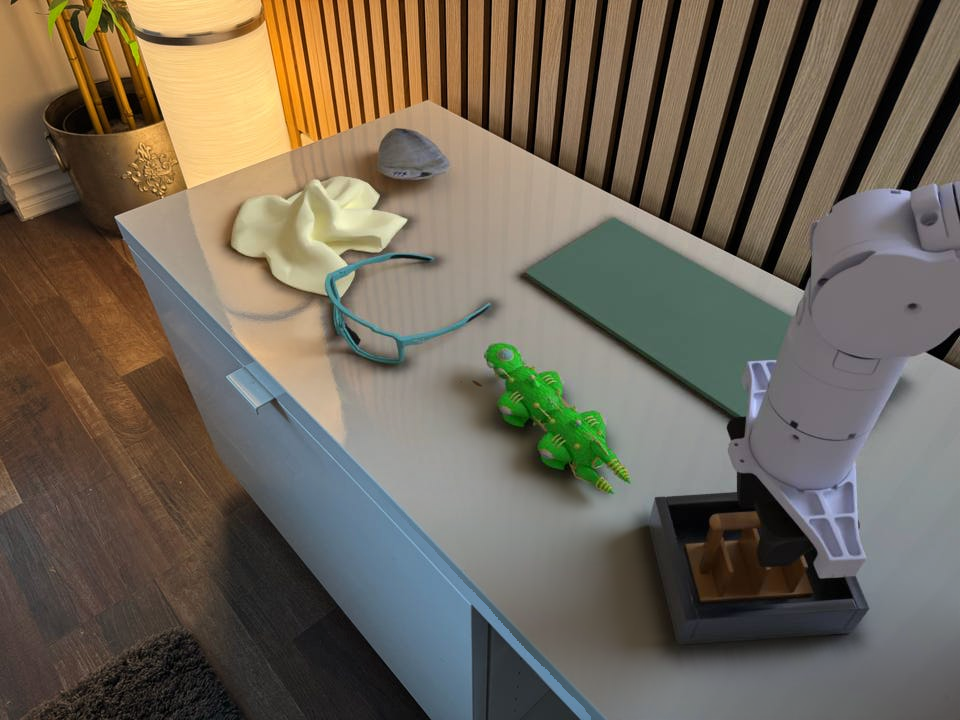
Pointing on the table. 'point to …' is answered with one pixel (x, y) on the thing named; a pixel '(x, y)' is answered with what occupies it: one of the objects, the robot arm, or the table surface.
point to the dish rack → (740, 564)
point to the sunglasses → (353, 337)
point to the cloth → (314, 231)
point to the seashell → (410, 156)
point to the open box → (695, 622)
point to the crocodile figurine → (553, 417)
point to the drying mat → (666, 309)
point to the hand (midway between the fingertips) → (763, 531)
